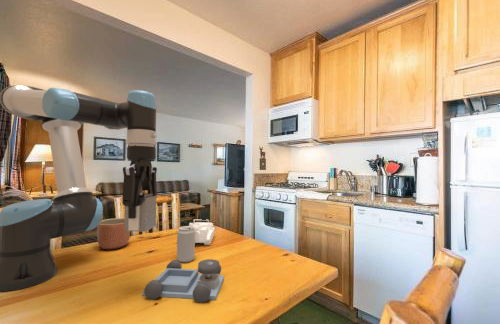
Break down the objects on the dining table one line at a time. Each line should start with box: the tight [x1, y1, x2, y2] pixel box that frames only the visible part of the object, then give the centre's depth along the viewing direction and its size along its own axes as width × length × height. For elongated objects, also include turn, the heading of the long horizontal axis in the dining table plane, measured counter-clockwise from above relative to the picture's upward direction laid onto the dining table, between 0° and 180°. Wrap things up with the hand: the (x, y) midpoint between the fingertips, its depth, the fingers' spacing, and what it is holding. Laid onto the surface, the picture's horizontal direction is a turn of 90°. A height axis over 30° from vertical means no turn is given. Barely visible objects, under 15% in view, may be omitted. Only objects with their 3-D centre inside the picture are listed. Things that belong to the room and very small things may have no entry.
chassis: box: [141, 259, 225, 304], centre depth 69 cm, size 20×15×4 cm
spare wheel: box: [197, 258, 220, 277], centre depth 69 cm, size 6×6×4 cm
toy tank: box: [188, 218, 216, 246], centre depth 110 cm, size 12×20×10 cm, turn 0°
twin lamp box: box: [123, 190, 157, 233], centre depth 68 cm, size 6×6×11 cm
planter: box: [96, 217, 131, 251], centre depth 101 cm, size 12×12×11 cm
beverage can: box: [176, 225, 196, 263], centre depth 89 cm, size 6×6×12 cm
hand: (140, 226), depth 68 cm, fingers closed on twin lamp box, 6 cm apart
